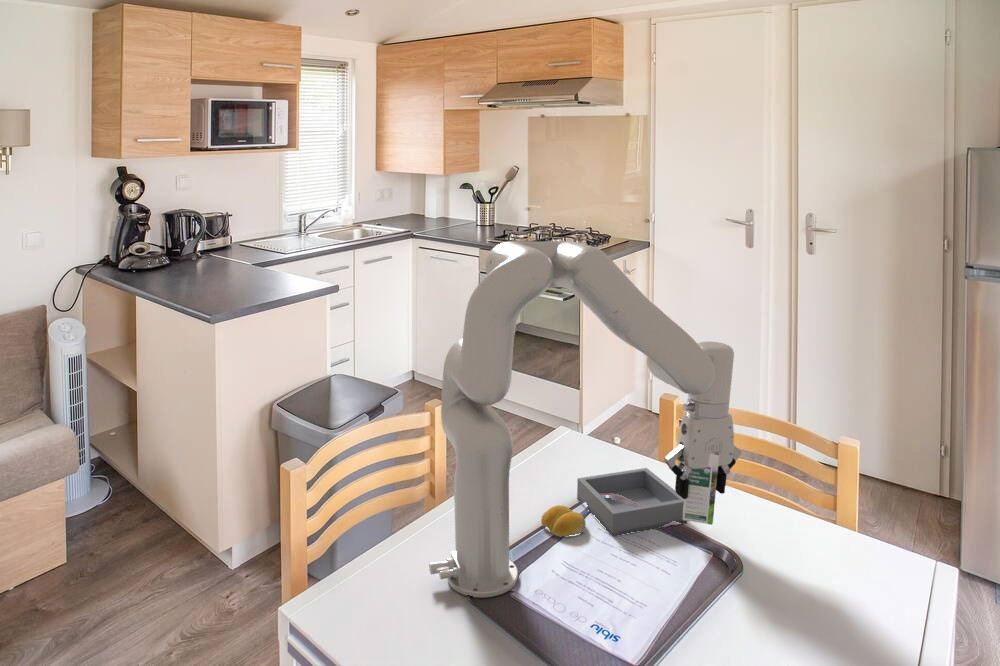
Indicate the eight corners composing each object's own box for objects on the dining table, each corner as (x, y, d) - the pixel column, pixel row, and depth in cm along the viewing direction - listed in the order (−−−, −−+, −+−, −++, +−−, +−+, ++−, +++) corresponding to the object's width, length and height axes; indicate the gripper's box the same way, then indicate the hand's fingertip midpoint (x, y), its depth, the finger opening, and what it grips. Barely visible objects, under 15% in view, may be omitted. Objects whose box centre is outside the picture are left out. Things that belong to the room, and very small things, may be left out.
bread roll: (566, 543, 139) (566, 525, 138) (534, 526, 145) (534, 508, 144) (594, 529, 144) (595, 511, 143) (563, 513, 151) (563, 496, 150)
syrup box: (681, 520, 137) (688, 450, 134) (683, 507, 143) (689, 439, 140) (712, 525, 136) (719, 454, 132) (713, 511, 141) (719, 443, 138)
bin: (612, 536, 141) (613, 513, 140) (577, 499, 156) (577, 478, 155) (686, 523, 146) (688, 501, 145) (645, 488, 162) (646, 467, 160)
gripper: (678, 418, 128) (671, 507, 132) (759, 409, 133) (749, 496, 137) (657, 404, 135) (650, 490, 139) (734, 397, 140) (726, 480, 144)
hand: (700, 492), depth 138 cm, fingers closed on syrup box, 7 cm apart
